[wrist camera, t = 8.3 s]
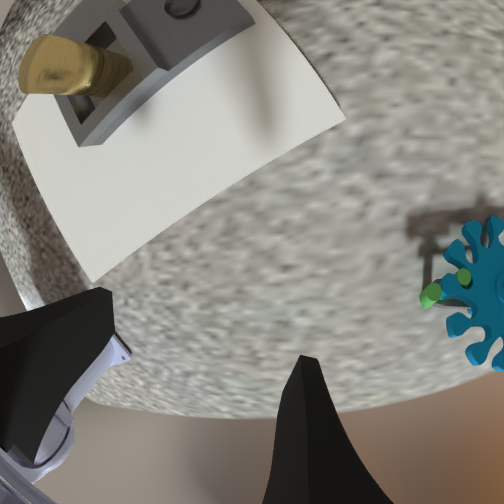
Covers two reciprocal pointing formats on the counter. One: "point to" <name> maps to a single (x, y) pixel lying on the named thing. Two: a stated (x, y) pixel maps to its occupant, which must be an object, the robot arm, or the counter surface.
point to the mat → (175, 142)
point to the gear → (474, 290)
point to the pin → (71, 68)
